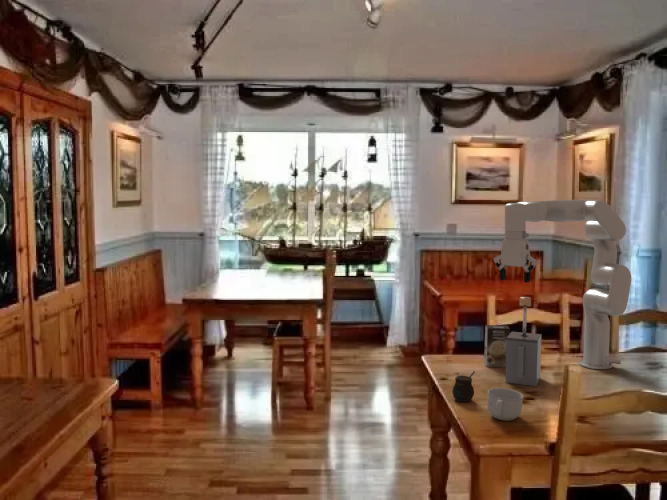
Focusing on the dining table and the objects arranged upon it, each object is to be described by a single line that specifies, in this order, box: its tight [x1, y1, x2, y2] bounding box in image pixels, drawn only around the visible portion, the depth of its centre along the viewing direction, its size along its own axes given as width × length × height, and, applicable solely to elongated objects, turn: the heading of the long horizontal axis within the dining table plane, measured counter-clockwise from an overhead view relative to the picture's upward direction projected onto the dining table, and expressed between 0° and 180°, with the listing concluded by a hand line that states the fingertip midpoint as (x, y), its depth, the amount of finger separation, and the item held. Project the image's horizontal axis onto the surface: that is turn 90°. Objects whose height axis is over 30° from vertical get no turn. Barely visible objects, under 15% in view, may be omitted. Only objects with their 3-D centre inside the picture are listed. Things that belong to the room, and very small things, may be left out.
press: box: [505, 331, 542, 387], centre depth 233 cm, size 11×14×17 cm
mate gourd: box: [451, 371, 476, 403], centre depth 212 cm, size 7×8×10 cm
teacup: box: [486, 387, 524, 422], centre depth 195 cm, size 14×11×8 cm
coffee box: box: [483, 324, 511, 368], centre depth 255 cm, size 9×6×16 cm
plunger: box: [519, 296, 532, 337], centre depth 233 cm, size 9×9×17 cm
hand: (514, 281), depth 235 cm, fingers open, 9 cm apart
